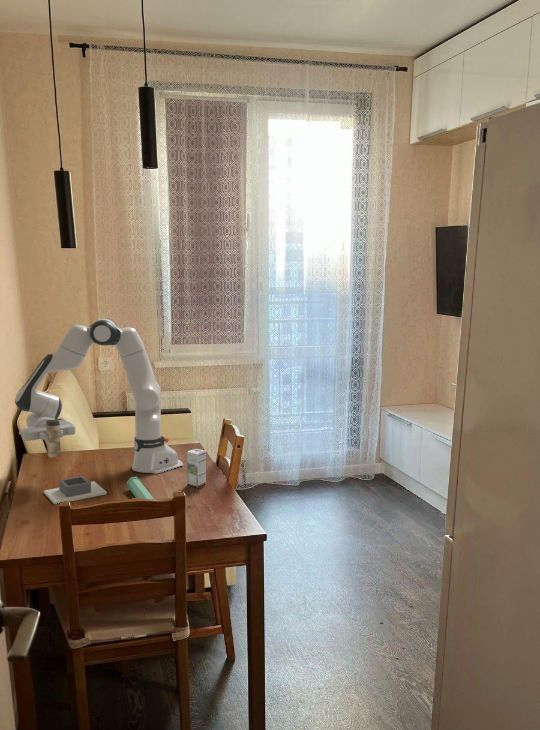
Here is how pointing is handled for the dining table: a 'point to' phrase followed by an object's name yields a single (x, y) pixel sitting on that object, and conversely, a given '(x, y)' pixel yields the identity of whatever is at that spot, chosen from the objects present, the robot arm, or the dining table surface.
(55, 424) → the spice jar
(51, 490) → the collar stand
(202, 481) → the syrup box
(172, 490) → the dining table surface
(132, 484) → the container
